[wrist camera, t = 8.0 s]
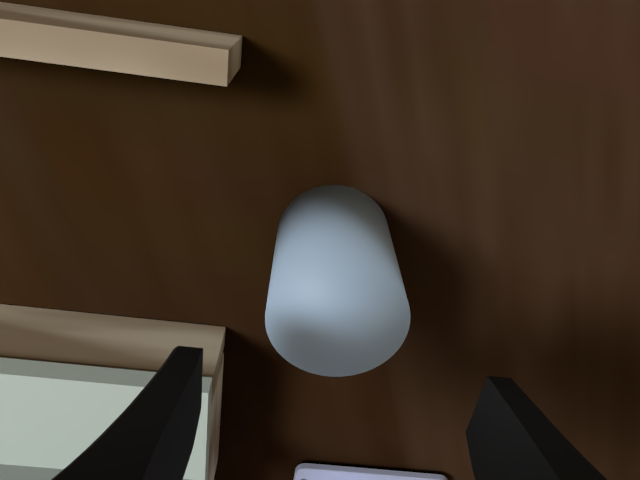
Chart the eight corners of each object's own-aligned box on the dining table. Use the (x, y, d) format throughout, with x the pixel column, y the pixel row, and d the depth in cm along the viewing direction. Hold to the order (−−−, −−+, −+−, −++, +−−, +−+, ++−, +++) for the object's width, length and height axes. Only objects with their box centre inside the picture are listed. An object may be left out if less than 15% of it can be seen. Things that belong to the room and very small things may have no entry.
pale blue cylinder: (377, 288, 22) (394, 382, 17) (272, 277, 21) (259, 369, 17) (398, 192, 20) (425, 268, 15) (283, 178, 19) (271, 251, 15)
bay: (218, 458, 27) (207, 513, 24) (-88, 432, 26) (-134, 486, 23) (242, 35, 17) (228, 49, 14) (-247, -33, 16) (-360, -32, 13)
